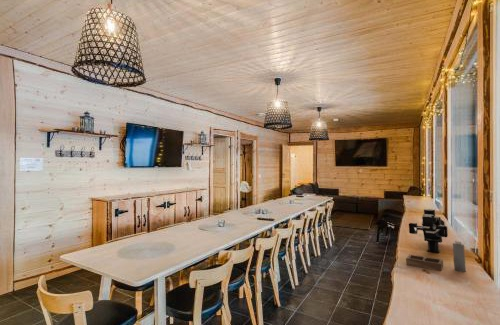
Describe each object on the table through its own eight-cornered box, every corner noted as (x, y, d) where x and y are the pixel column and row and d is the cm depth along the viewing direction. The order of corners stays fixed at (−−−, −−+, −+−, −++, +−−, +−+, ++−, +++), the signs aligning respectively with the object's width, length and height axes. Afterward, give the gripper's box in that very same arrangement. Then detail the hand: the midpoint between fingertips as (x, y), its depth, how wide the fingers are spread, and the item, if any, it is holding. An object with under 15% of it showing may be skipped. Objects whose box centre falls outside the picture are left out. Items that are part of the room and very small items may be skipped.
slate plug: (454, 267, 142) (453, 239, 142) (466, 269, 138) (464, 240, 139) (453, 270, 138) (452, 241, 138) (465, 272, 135) (463, 243, 135)
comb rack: (409, 260, 155) (409, 254, 155) (443, 266, 144) (442, 259, 144) (406, 264, 148) (406, 258, 148) (441, 270, 138) (440, 264, 138)
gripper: (411, 212, 169) (405, 216, 157) (447, 215, 157) (444, 219, 145) (412, 230, 169) (406, 236, 157) (448, 234, 157) (446, 240, 145)
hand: (425, 232), depth 151 cm, fingers open, 9 cm apart
